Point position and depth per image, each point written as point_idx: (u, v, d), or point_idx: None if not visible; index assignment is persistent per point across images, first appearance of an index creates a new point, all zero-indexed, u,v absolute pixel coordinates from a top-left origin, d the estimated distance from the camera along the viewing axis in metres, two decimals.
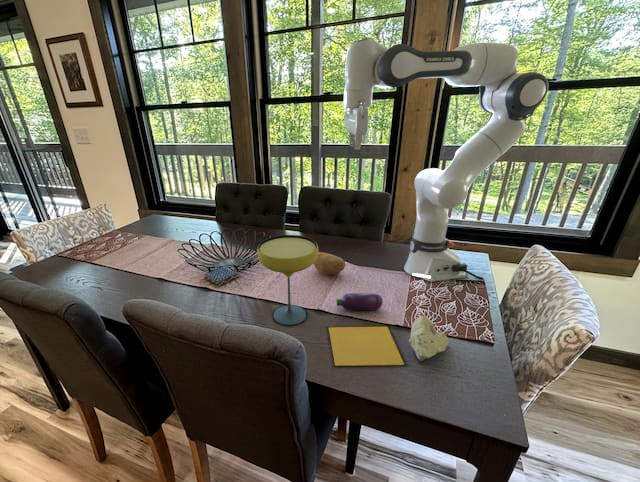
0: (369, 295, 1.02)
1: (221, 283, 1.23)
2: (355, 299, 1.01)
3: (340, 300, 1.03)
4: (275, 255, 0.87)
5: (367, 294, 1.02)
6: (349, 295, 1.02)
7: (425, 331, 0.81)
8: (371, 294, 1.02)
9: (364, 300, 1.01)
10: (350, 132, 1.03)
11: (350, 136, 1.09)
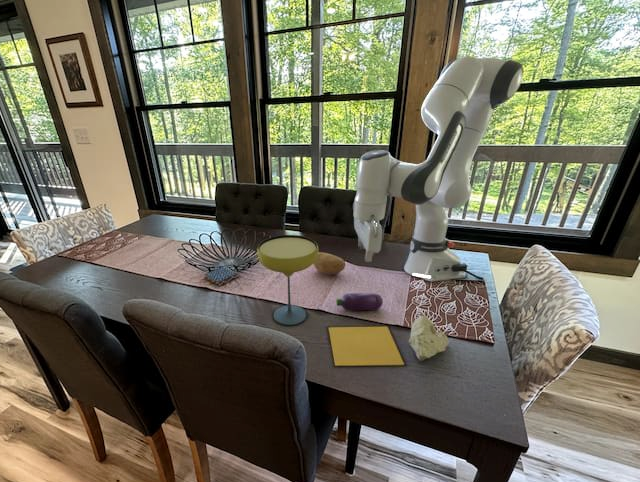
0: (369, 295, 1.02)
1: (221, 283, 1.23)
2: (355, 299, 1.01)
3: (340, 300, 1.03)
4: (275, 255, 0.87)
5: (367, 294, 1.02)
6: (349, 295, 1.02)
7: (425, 331, 0.81)
8: (371, 294, 1.02)
9: (364, 300, 1.01)
10: (360, 240, 0.94)
11: (359, 238, 1.00)
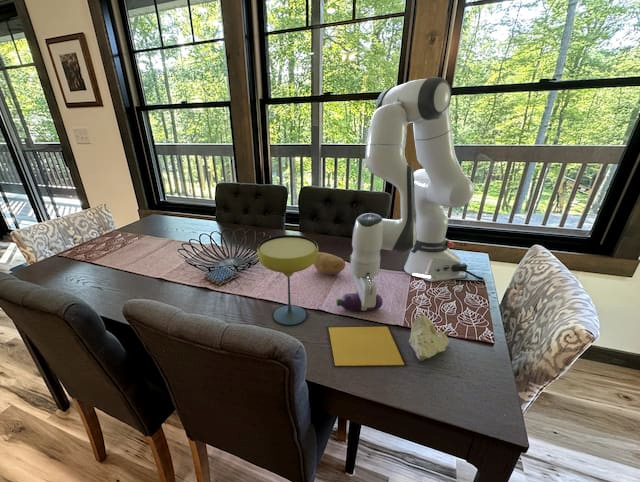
0: None
1: (221, 283, 1.23)
2: (355, 299, 1.01)
3: (340, 300, 1.03)
4: (275, 255, 0.87)
5: None
6: (349, 295, 1.02)
7: (425, 331, 0.81)
8: None
9: None
10: (357, 291, 1.01)
11: None
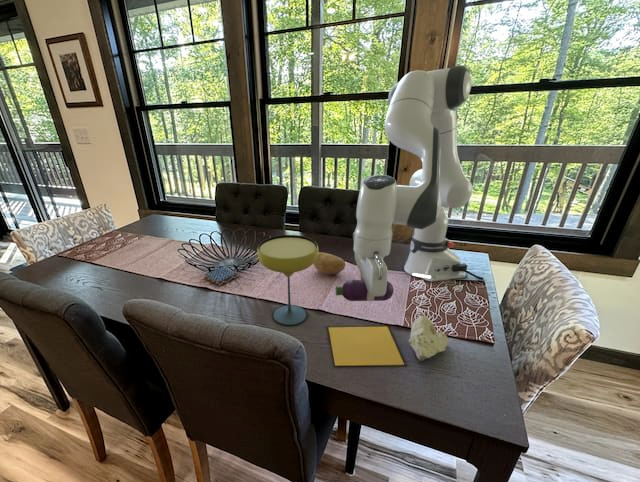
0: None
1: (221, 283, 1.23)
2: (359, 287, 0.80)
3: (340, 288, 0.82)
4: (275, 255, 0.87)
5: None
6: (352, 282, 0.82)
7: (425, 331, 0.81)
8: None
9: None
10: (362, 277, 0.81)
11: (362, 274, 0.86)
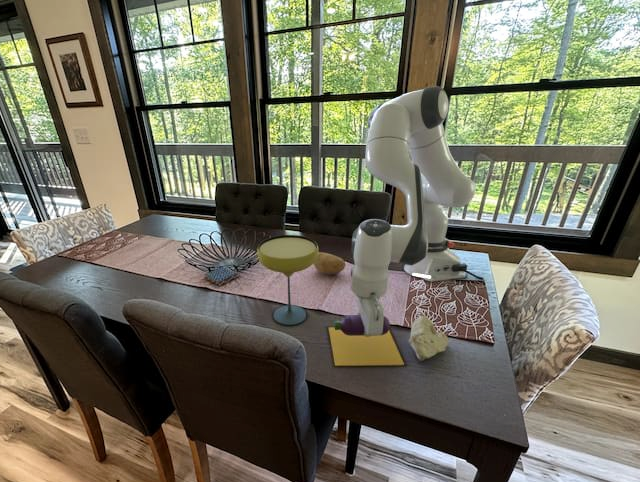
0: None
1: (221, 283, 1.23)
2: (357, 323, 0.83)
3: (338, 323, 0.85)
4: (275, 255, 0.87)
5: None
6: (349, 317, 0.84)
7: (425, 331, 0.81)
8: None
9: None
10: (359, 313, 0.84)
11: None
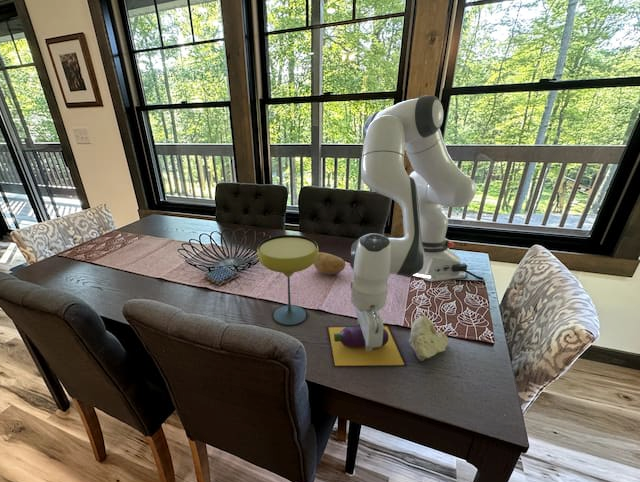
0: None
1: (221, 283, 1.23)
2: (356, 335, 0.85)
3: (338, 335, 0.87)
4: (275, 255, 0.87)
5: None
6: (349, 329, 0.86)
7: (425, 331, 0.81)
8: None
9: None
10: (359, 324, 0.85)
11: None
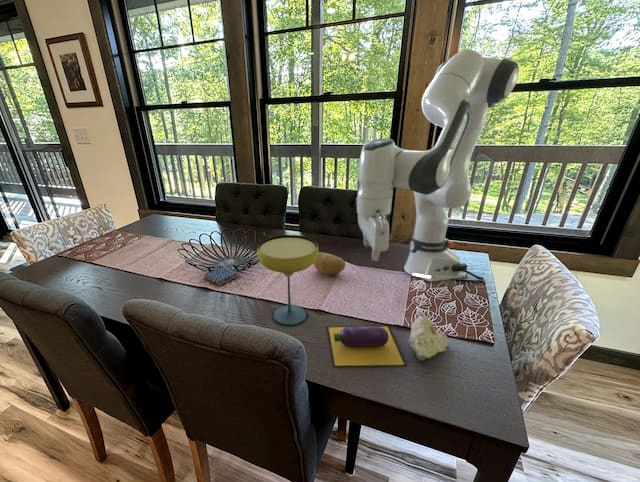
0: (373, 329, 0.86)
1: (221, 283, 1.23)
2: (356, 334, 0.85)
3: (338, 335, 0.87)
4: (275, 255, 0.87)
5: (370, 328, 0.86)
6: (349, 329, 0.86)
7: (425, 331, 0.81)
8: (375, 328, 0.86)
9: (367, 336, 0.85)
10: (365, 237, 0.87)
11: (364, 235, 0.93)
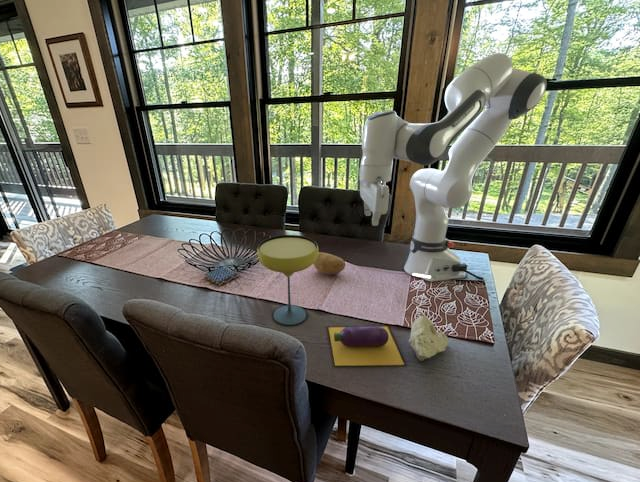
0: (372, 329, 0.86)
1: (221, 283, 1.23)
2: (356, 334, 0.85)
3: (338, 334, 0.87)
4: (275, 255, 0.87)
5: (370, 328, 0.86)
6: (349, 329, 0.86)
7: (425, 331, 0.81)
8: (375, 328, 0.86)
9: (367, 335, 0.85)
10: (366, 204, 0.94)
11: (366, 204, 1.00)
